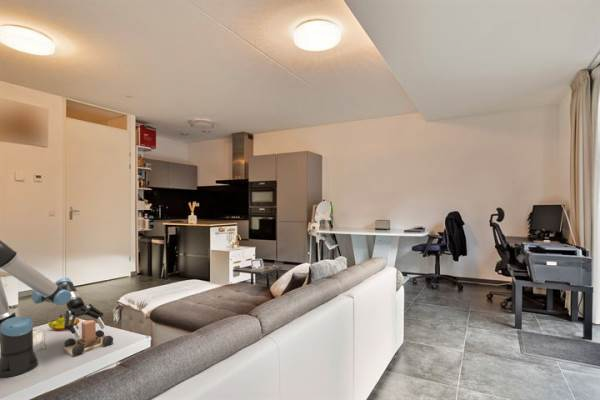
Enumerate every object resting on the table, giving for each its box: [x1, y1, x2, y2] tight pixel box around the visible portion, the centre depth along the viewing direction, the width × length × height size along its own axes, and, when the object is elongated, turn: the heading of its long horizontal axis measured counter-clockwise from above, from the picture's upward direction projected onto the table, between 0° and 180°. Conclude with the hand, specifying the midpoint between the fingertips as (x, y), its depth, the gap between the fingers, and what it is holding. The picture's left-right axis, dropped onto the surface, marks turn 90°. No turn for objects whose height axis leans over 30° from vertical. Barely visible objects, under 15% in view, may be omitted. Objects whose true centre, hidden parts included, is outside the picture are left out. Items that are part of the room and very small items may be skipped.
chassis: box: [63, 329, 114, 358], centre depth 177 cm, size 20×14×5 cm
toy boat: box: [47, 313, 80, 331], centre depth 203 cm, size 6×18×10 cm, turn 89°
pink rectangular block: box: [81, 319, 97, 343], centre depth 177 cm, size 5×5×12 cm
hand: (91, 332), depth 177 cm, fingers open, 13 cm apart
